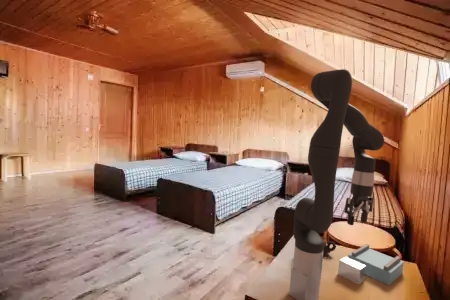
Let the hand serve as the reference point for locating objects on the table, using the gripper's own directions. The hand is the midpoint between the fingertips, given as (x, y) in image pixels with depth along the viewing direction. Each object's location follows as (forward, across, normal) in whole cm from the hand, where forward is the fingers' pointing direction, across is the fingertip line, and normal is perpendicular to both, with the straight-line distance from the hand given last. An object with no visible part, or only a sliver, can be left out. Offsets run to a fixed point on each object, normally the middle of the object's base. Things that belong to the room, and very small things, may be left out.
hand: (357, 223), depth 102 cm
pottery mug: (+21, +4, +18) cm, 28 cm away
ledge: (+20, +12, -2) cm, 24 cm away
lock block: (+21, -2, -2) cm, 21 cm away
